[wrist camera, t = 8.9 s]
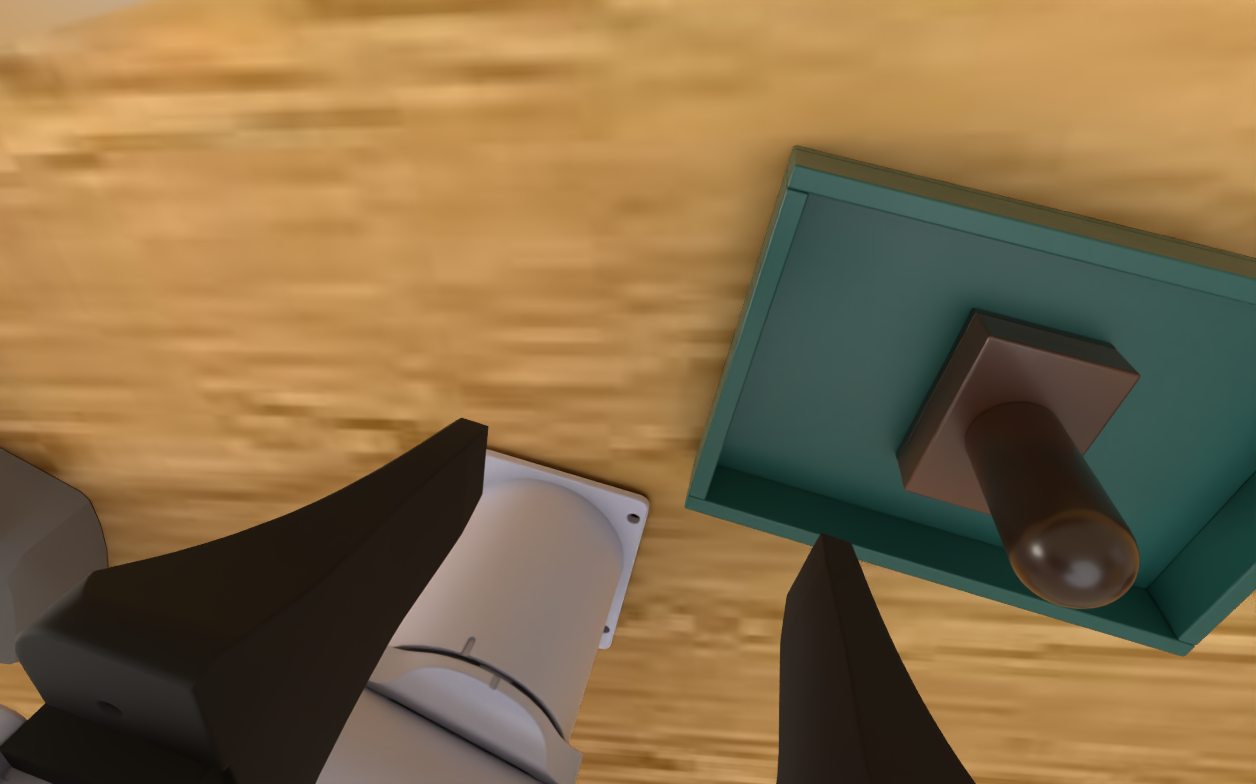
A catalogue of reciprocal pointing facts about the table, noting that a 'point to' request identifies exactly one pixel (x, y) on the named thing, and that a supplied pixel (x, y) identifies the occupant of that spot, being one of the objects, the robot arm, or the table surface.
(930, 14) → the table surface
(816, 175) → the tray
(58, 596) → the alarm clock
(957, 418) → the stamp
